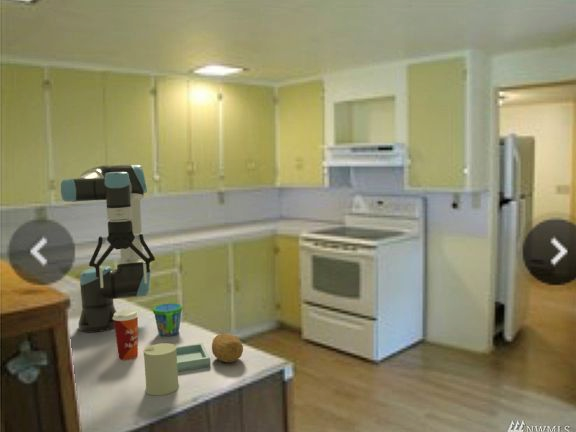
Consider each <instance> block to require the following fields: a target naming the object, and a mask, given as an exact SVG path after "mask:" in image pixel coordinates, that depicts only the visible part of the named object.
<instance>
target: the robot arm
mask: <svg viewBox="0 0 576 432" xmlns="http://www.w3.org/2000/svg"><path fill="white" fill-rule="evenodd" d="M145 178H146V177H145V173H144V168H143V166H142V165H139V164H120V165H118V164H117V165H115V164H114V165H100V166H96V167H92V168H90V169H87V170H85V171H84V172H82V173H81V174H80V176H79V177H77V178H67V179H66V178H65V179H63V180H62V181H61V182H60V196H61V199H62V200H63V201H64V202H66V203H67V202H69V203H70V202H71V203H75V202H76V203H77V202H89V201H91V202H92V201H106V217H107V220H108V222H107V232H108V235H107V236H102V235H99V236H98V239H97V240H98V241H97V246H96V247H95V249H94V251H93V253H92V255H91V258H90V261H89V263H88V266H89V267H91V268H88V269H86V270H84V271H82V272H81V273H80V274H79V275H80V276H79V281H80V282H79V286H80V296H81V306H82V307H81V313H80V315H79V316H80V317H79V320H78V330H79V331H80V332H84V333H85V332H86V333H98V332H99V333H100V332H104V331H109V330H112V329H115V326H114V320H113V319H112V318H113V316H114V313H115V312H117V311H116V307H115V303H114V300H116V299H117V300H119V299H129V298H130V299H132V298H139V297H146V296H148V295H149V293H150V287H151V281H152V279H151V278H152V277H151V276H152V266H150V263H152V262H154V261H155V259H156V258H155V255H154V254H153V252H152V251H151V249H150V247H149V246H148V245H147V243H146V241H145V239H144V238H145V237H144V235H143V231H142V230H143V229H142V228H143V227H142V213H141V210H142V209H141V201H142V199H143V198H144V197H145V195H144V194H146V193H147V192H148V189H147V184H146V179H145ZM106 241H107V242H108V243H109V244H110V245H108V247H107V249H106V250H105V251H104V253H103V254H102V255H101V256H100V258H99V259H98V260H97V257H98V255H99V253H100V251H101V248H102V245H103V244H105V243H106ZM143 248H144V250H145V252H146V253H147V255H148V256H149V257H147V255H145V254H144V253H143V252H144V250H143ZM114 249H115V250H120V252H119V253H120V261H119V262H118V263H117V264H116V268H115V269H112V267H111V266H110V265H102V264H103V263H104V262H105V260H106V259H107V257H108V256H109V255H110V254H111V252H113V250H114ZM96 260H97V261H96Z"/></svg>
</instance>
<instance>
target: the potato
mask: <svg viewBox="0 0 576 432" xmlns="http://www.w3.org/2000/svg"><path fill="white" fill-rule="evenodd" d="M243 346H244V345H243V344H242V342H241V340H240V338H239V337H237V336H236V335H233V334H230V333H224V332H223V333H219V334H217V335H215V337H214V338H213V339H212V343H211V351H212V353H213V355H214V357H215V358H216V359H217V360H218V361H221V362H225V363H233V362H236V361H237V360H239V359H240V358H241V357H242V355H243V352H244V347H243Z"/></svg>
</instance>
